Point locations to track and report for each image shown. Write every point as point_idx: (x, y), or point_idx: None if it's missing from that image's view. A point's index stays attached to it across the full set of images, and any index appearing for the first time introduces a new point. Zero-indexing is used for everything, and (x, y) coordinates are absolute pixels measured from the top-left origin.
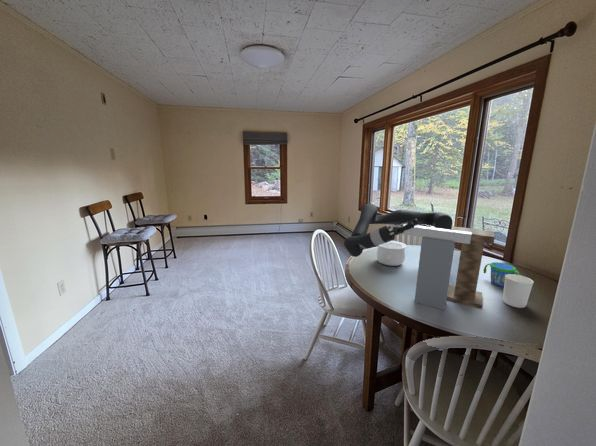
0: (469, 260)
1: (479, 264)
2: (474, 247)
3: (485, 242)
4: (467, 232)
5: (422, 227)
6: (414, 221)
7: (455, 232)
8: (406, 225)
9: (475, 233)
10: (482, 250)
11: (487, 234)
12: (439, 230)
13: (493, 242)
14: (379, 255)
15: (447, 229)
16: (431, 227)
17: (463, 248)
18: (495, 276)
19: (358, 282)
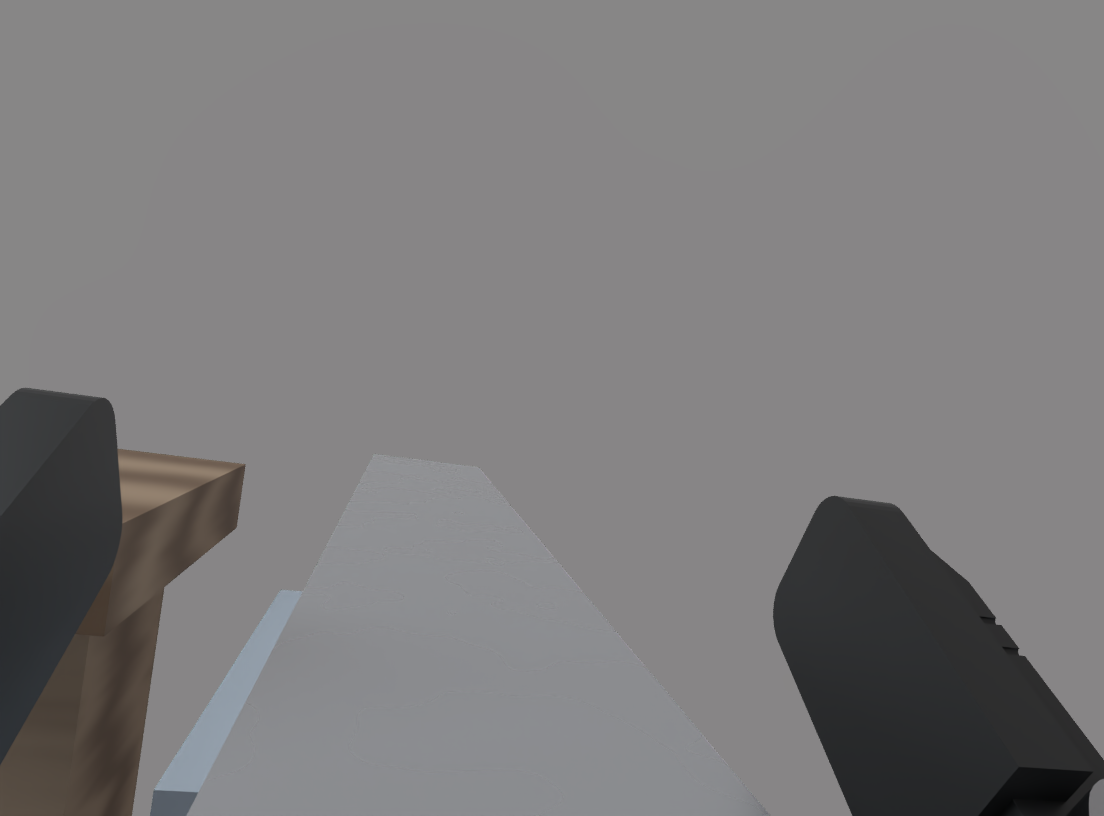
0: (101, 807)
1: (132, 782)
2: (133, 633)
3: (224, 535)
4: (405, 461)
5: (504, 576)
6: (65, 499)
7: (493, 486)
8: (1006, 690)
9: (148, 474)
10: (157, 629)
11: (153, 460)
12: (519, 518)
13: (237, 514)
14: None
15: (370, 483)
16: (361, 523)
17: (90, 705)
18: None
19: None
